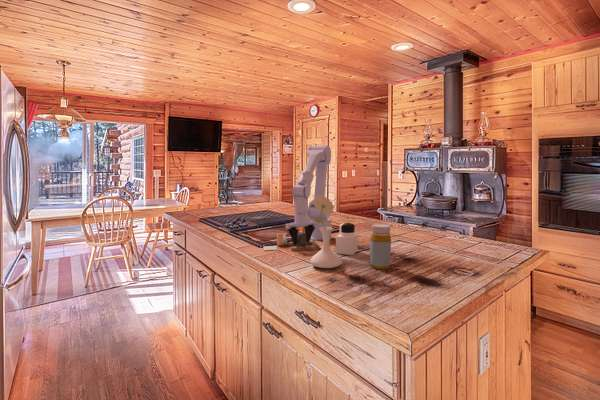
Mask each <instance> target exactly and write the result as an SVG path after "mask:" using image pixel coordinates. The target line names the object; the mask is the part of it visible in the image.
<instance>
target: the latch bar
mask: <svg viewBox="0 0 600 400" xmlns="http://www.w3.org/2000/svg"><path fill="white" fill-rule="evenodd" d="M285 245H288V237H287V235H286V233H282V232H278V233H276V246H282V247H283V246H285Z"/></svg>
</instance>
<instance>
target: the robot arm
mask: <svg viewBox="0 0 600 400" xmlns="http://www.w3.org/2000/svg"><path fill="white" fill-rule="evenodd" d="M307 158H308V159H307V162H306V167H305V170H302V171H301V173H300V175H299V178H298V180H297V183H296V184H295V185H293V187H292V190H291V195H292V198H293V199H292V200H293V202H294V221H293V222H289V223H285V229H287V231H288V233H289V235H290V237H291V238H290V239H291V242H293V244H294V245H293V246H297V235H298V233H299V229H297V228H303V229H304V233H306V242H307V243H310V241H321V240H322V241H323V236H322V232H321V230H320V229H319V228H320V227H324V226H325V227H332V221H331V222H329V223H327V224H325V223H326V222H327V221H330V220H331V219H329V218H330V215H331V214H329V213H328V214H324V213H323V212H322V214H321V212H320V211H319V210H318V209H317V208H316V206H315V205H314V203H315V202H314V201H315V200H314V199H316V198H317V197H318V196H322V197H323V198H324V197H326V195H325V194H326V185H327V175H328V174H327V173H328V165H330V164H331V159H332V150H331V147H330V146H329V145H309V147H308V148H307ZM315 169H316V172H315V173H316V174H315V175H314V171H315ZM314 177H315V183H314V185H315V186H314V198H313V200H311V201H310V202H309V198H310V196H311V190H312V183H313V180H314ZM320 214H321V220H322V222H323V224H324V226H323V224H322V222H320V223H318V222H315V221H313V220H314V218H315V217H318V218H319V219H320ZM329 240H332V233H331V234H330V239H329Z"/></svg>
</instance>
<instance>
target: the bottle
mask: <svg viewBox="0 0 600 400" xmlns="http://www.w3.org/2000/svg"><path fill="white" fill-rule="evenodd" d="M369 244H370V245H369V246H370V248H369V251H370V254H369V265H370V267H371V268H373V269H376V270H380V271H381V270H388V269H389V268H390V267H391V255H392V254H391V253H392V252H391V250H392V248H391V247H392V237H391V225H390V224H387V223H372V225H371V236H370V242H369Z"/></svg>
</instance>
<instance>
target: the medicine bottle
mask: <svg viewBox="0 0 600 400" xmlns="http://www.w3.org/2000/svg"><path fill="white" fill-rule="evenodd" d="M355 231H356V227H355V223H352V222H343V223H340V224H339V234H338V235H336V237H335V254H336V255H337V254H338V255H345V256H346V255H347V256H353V255H355V254H356V252H358V241H359V239H358V238H359V237H358V234H356V233H355Z"/></svg>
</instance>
